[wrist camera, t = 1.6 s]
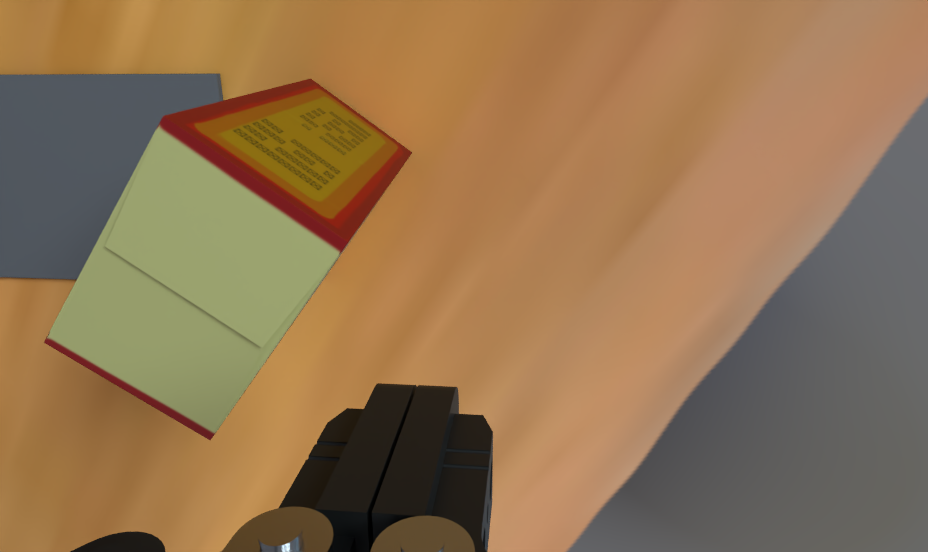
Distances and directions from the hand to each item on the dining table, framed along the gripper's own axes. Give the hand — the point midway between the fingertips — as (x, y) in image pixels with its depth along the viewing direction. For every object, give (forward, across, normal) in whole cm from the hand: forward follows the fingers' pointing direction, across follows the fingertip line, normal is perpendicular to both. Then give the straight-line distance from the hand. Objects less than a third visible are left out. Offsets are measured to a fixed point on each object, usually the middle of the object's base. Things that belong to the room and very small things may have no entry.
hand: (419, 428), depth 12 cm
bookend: (+24, +24, 0) cm, 34 cm away
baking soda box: (+24, +10, 0) cm, 26 cm away
